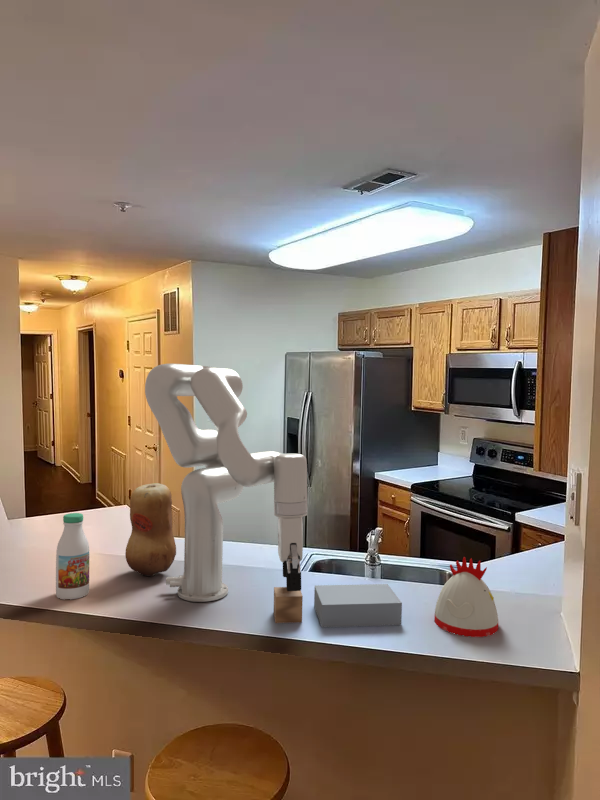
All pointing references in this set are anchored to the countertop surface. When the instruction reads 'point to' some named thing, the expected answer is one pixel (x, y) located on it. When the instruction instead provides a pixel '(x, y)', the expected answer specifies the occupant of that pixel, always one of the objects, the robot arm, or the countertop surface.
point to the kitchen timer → (466, 603)
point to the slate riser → (357, 605)
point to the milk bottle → (72, 559)
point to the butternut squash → (151, 530)
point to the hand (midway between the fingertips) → (291, 583)
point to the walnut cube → (287, 605)
